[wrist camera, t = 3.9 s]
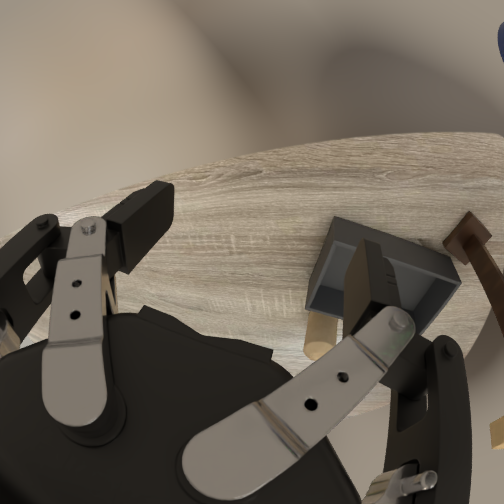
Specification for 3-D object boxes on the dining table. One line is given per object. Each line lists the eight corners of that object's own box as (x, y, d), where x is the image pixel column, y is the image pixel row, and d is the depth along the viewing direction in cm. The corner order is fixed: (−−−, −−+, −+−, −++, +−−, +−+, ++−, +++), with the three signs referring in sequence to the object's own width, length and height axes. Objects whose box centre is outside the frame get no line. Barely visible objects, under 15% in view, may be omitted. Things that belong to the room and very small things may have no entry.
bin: (334, 215, 40) (334, 240, 34) (450, 256, 37) (461, 282, 32) (308, 281, 48) (304, 309, 42) (413, 311, 45) (418, 338, 40)
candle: (309, 324, 54) (302, 366, 46) (308, 304, 51) (301, 347, 43) (337, 325, 52) (333, 368, 44) (338, 305, 49) (336, 349, 41)
